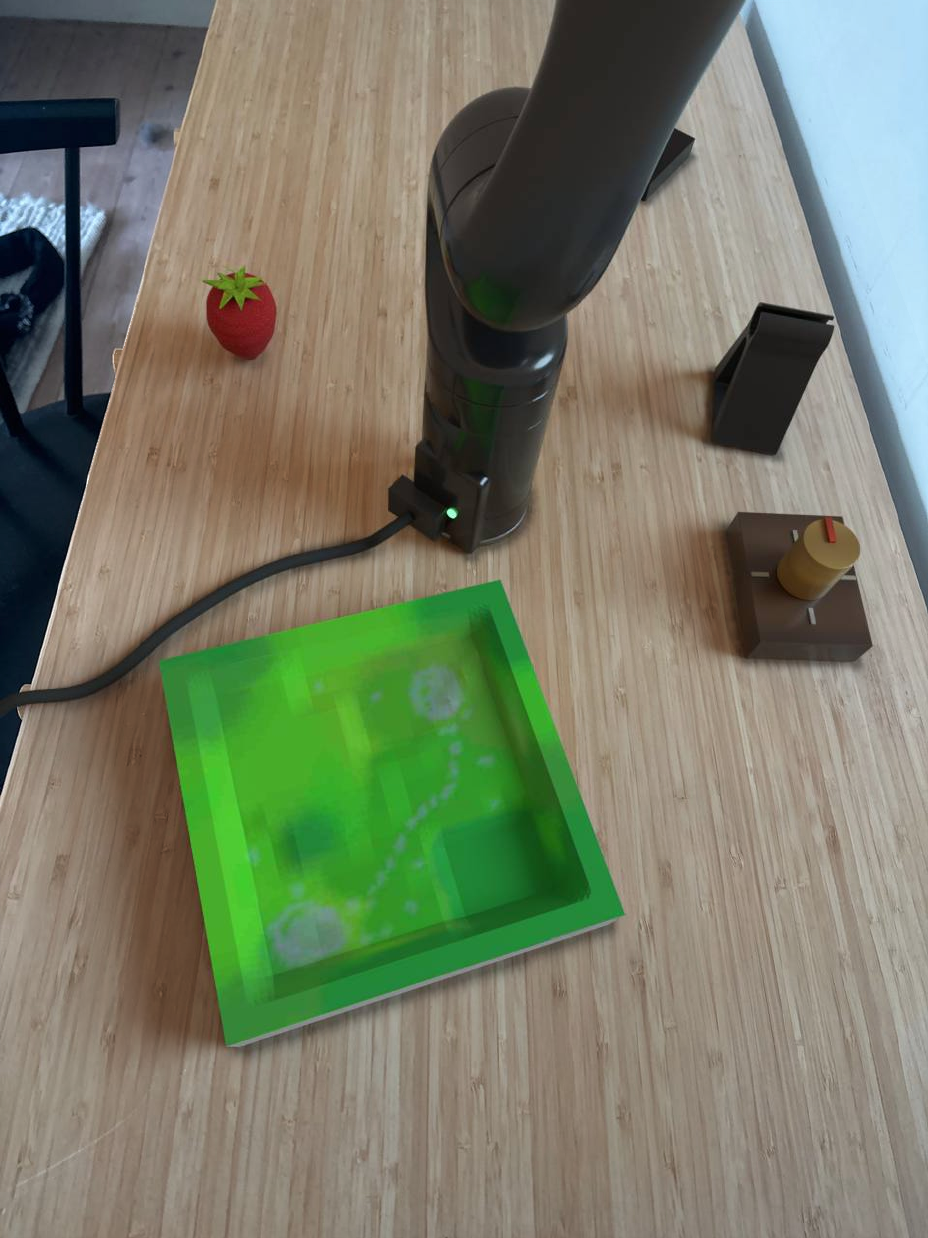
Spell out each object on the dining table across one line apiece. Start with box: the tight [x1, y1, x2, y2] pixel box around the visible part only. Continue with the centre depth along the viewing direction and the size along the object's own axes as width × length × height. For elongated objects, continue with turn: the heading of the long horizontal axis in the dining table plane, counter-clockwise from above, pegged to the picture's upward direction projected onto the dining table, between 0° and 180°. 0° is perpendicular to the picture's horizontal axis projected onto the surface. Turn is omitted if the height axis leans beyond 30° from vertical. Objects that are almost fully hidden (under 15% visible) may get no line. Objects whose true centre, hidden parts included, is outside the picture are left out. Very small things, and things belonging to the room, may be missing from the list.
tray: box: [158, 579, 626, 1048], centre depth 59 cm, size 25×25×5 cm
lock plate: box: [725, 511, 874, 663], centre depth 71 cm, size 12×9×3 cm
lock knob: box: [777, 517, 861, 600], centre depth 67 cm, size 4×4×5 cm
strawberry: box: [202, 263, 278, 361], centre depth 74 cm, size 6×8×10 cm
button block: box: [640, 127, 696, 202], centre depth 94 cm, size 10×10×4 cm
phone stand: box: [710, 301, 835, 456], centre depth 75 cm, size 9×6×12 cm, turn 170°
